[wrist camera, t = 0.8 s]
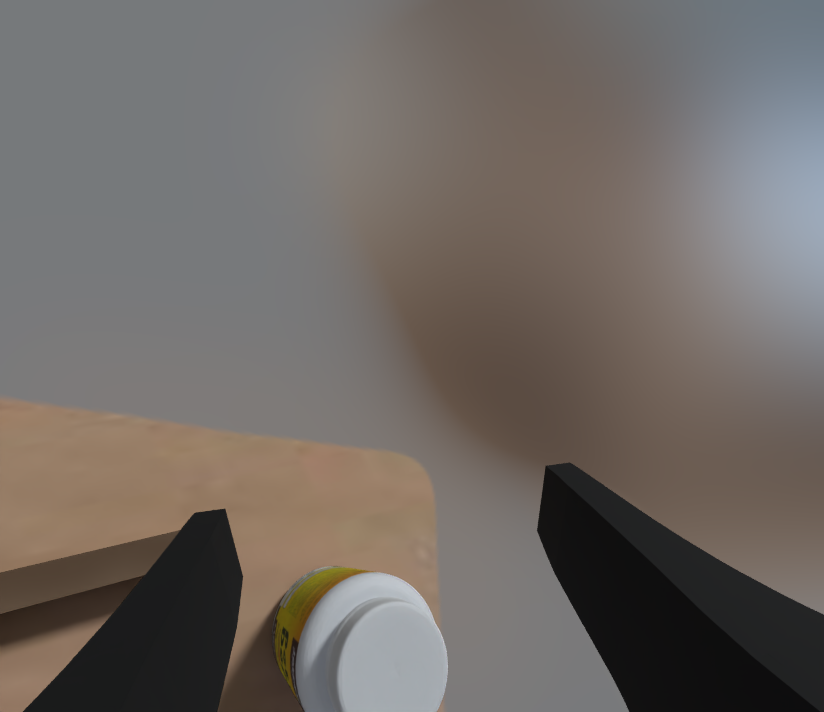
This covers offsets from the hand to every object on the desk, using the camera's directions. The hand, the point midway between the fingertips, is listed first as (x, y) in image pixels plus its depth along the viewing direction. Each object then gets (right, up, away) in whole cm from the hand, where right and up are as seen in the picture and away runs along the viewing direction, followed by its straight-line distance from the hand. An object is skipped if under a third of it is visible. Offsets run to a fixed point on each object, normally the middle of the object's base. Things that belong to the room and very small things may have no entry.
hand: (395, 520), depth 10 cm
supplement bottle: (-4, -10, +13) cm, 17 cm away
